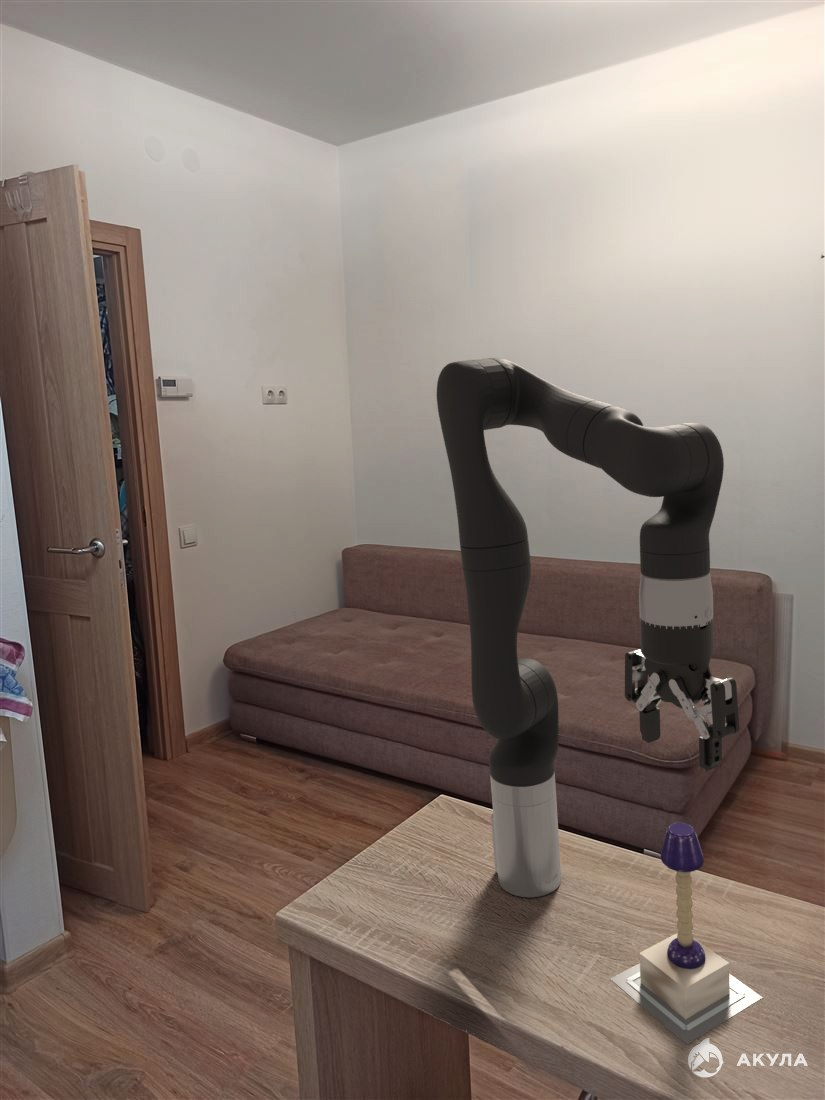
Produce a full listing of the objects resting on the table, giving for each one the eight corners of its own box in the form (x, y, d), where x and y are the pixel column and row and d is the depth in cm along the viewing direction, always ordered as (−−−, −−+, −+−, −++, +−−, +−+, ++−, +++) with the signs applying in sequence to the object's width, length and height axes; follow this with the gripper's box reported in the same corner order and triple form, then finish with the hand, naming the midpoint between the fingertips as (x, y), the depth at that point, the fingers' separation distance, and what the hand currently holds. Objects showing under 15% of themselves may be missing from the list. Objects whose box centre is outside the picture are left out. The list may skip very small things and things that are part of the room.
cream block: (640, 982, 97) (639, 953, 97) (683, 959, 101) (682, 930, 100) (685, 1019, 91) (684, 988, 90) (729, 993, 94) (729, 963, 94)
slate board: (610, 986, 99) (610, 978, 98) (682, 946, 104) (682, 939, 104) (686, 1052, 88) (686, 1043, 88) (762, 1005, 94) (762, 996, 93)
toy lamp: (708, 973, 92) (706, 839, 89) (665, 971, 93) (661, 838, 90) (702, 945, 97) (700, 816, 94) (661, 943, 98) (657, 815, 95)
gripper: (603, 607, 92) (609, 741, 95) (702, 635, 80) (705, 788, 83) (653, 594, 95) (657, 724, 99) (755, 619, 83) (756, 767, 86)
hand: (679, 753), depth 91 cm, fingers open, 8 cm apart
